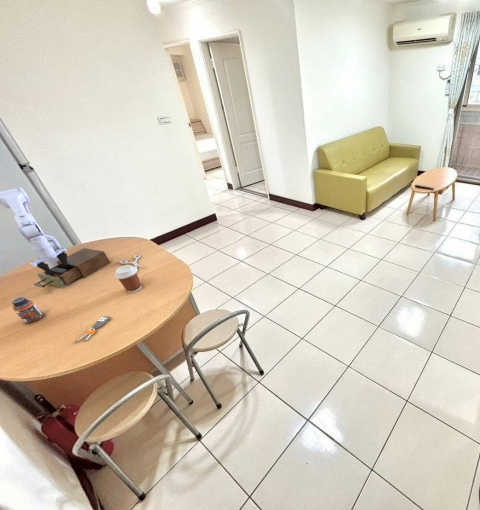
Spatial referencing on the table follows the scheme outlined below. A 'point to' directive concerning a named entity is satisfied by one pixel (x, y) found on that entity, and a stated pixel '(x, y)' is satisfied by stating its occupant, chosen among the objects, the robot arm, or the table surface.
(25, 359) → the table surface
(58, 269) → the black block with tab
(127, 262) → the scissors
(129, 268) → the coffee cup
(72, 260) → the cabinet
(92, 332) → the key chain
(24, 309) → the supplement bottle
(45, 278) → the drawer
